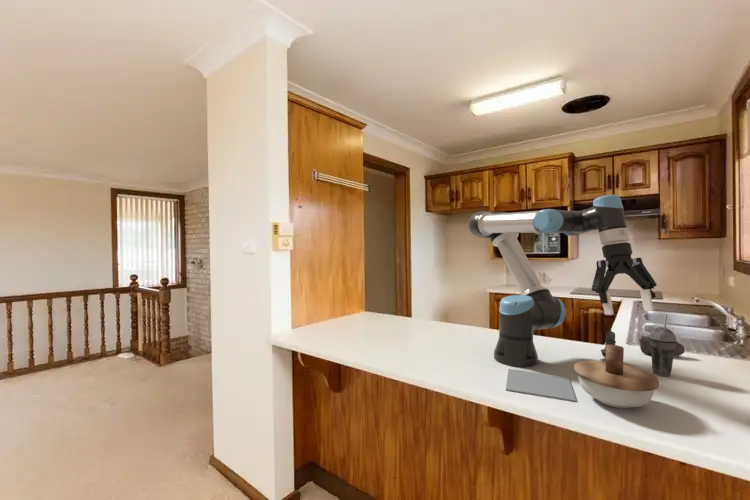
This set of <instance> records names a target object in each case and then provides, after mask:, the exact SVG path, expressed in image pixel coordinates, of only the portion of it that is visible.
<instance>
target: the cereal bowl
mask: <svg viewBox="0 0 750 500" xmlns="http://www.w3.org/2000/svg"><path fill="white" fill-rule="evenodd" d="M577 376H578V375H577ZM578 382H579V384H580V386H581V388H582V389H583V390H584V392H585V394H587V395H589V396H590V397H592V398H593V399H596V400H597V401H598V402H600V403H601V404H603V405H606V406H609V407H612V408H618V409H629V408H639V407H643V406H646V404H648V403H649V402H650V401H651V400H652V398H653V396H654V390H651V391H628V390H621V389H615V388H610V387H606V386H602V385H599V384H596V383H593V382H590V381H588V380H585V379H583V378H582V377H580V376H578Z"/></svg>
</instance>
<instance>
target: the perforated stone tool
mask: <svg viewBox="0 0 750 500" xmlns="http://www.w3.org/2000/svg"><path fill="white" fill-rule="evenodd" d="M638 340H639V341H638V342H639V348H640V350H641V352H642V353H643V354H647V355H651V345H650V341H649V335H648V336H646V335H641V336H640V338H639V339H638ZM685 350H686V349H685V347H684V345H683V344H681V343H679V342H678V341H677V343H676V347H675V349H674V356H673V357H679V356H682V355H683V354H684V353H685Z"/></svg>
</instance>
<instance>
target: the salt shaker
mask: <svg viewBox="0 0 750 500" xmlns="http://www.w3.org/2000/svg"><path fill="white" fill-rule="evenodd" d="M604 342H605V344H604V345H605V346H604V348H602V349H601V350H600V352H601V355H602V357H603V358H601V360H600V361H606V345H616V343H617V341H616V333H615V332H614V331H612V329H611V328H610V329H609V331H606V332H605V340H604Z"/></svg>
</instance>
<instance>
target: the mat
mask: <svg viewBox="0 0 750 500" xmlns="http://www.w3.org/2000/svg"><path fill="white" fill-rule="evenodd" d="M505 391H506V392H507V391H509V392H513V393H519V394H525V395H532V396H538V397H545V398H549V399H550V398H551V399H557V400H563V401H570V402H575V403H576V402H577V398H576V395H575V393H574V390H573V387H572V383H571V381H570V378H569V376H565V375H563V376H562V375H556V374H547V373H540V372H536V371H534V372H533V371H527V370H520V369H512V368H508V370H507V376H506V384H505Z"/></svg>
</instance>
